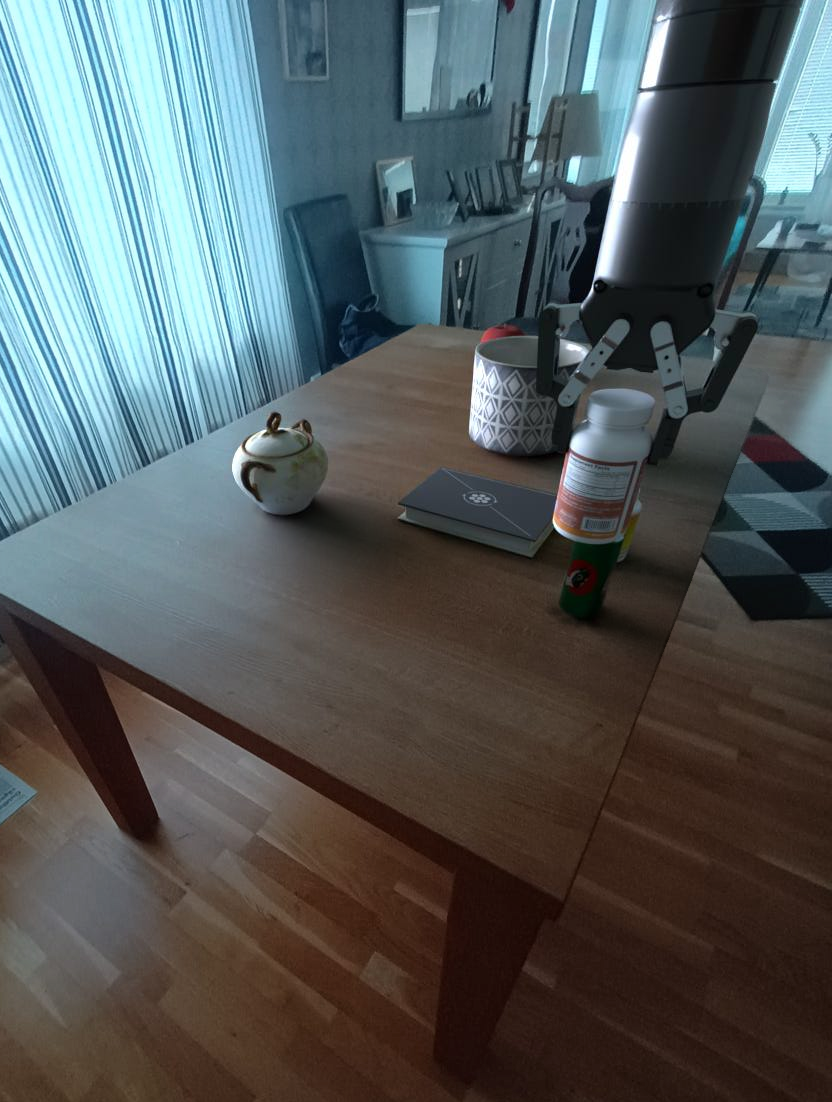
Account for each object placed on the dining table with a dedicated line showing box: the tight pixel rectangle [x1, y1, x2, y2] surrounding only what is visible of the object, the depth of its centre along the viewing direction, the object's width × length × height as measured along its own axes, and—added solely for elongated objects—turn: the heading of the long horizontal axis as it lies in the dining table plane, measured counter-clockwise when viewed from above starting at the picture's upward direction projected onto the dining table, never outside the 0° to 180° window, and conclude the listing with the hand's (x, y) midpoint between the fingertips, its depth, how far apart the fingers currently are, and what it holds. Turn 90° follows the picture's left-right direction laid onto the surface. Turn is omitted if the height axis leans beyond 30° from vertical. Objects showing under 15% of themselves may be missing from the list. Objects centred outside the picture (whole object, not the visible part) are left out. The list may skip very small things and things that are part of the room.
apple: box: [479, 322, 526, 344], centre depth 136 cm, size 11×11×12 cm
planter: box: [468, 335, 590, 457], centre depth 104 cm, size 19×19×16 cm
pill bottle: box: [553, 388, 656, 544], centre depth 47 cm, size 6×6×11 cm
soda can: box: [558, 533, 625, 620], centre depth 68 cm, size 5×5×12 cm
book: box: [397, 466, 558, 559], centre depth 88 cm, size 22×15×3 cm
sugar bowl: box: [231, 410, 329, 516], centre depth 90 cm, size 20×15×15 cm
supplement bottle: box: [617, 488, 643, 563], centre depth 77 cm, size 6×6×10 cm
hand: (607, 454), depth 46 cm, fingers closed on pill bottle, 6 cm apart
